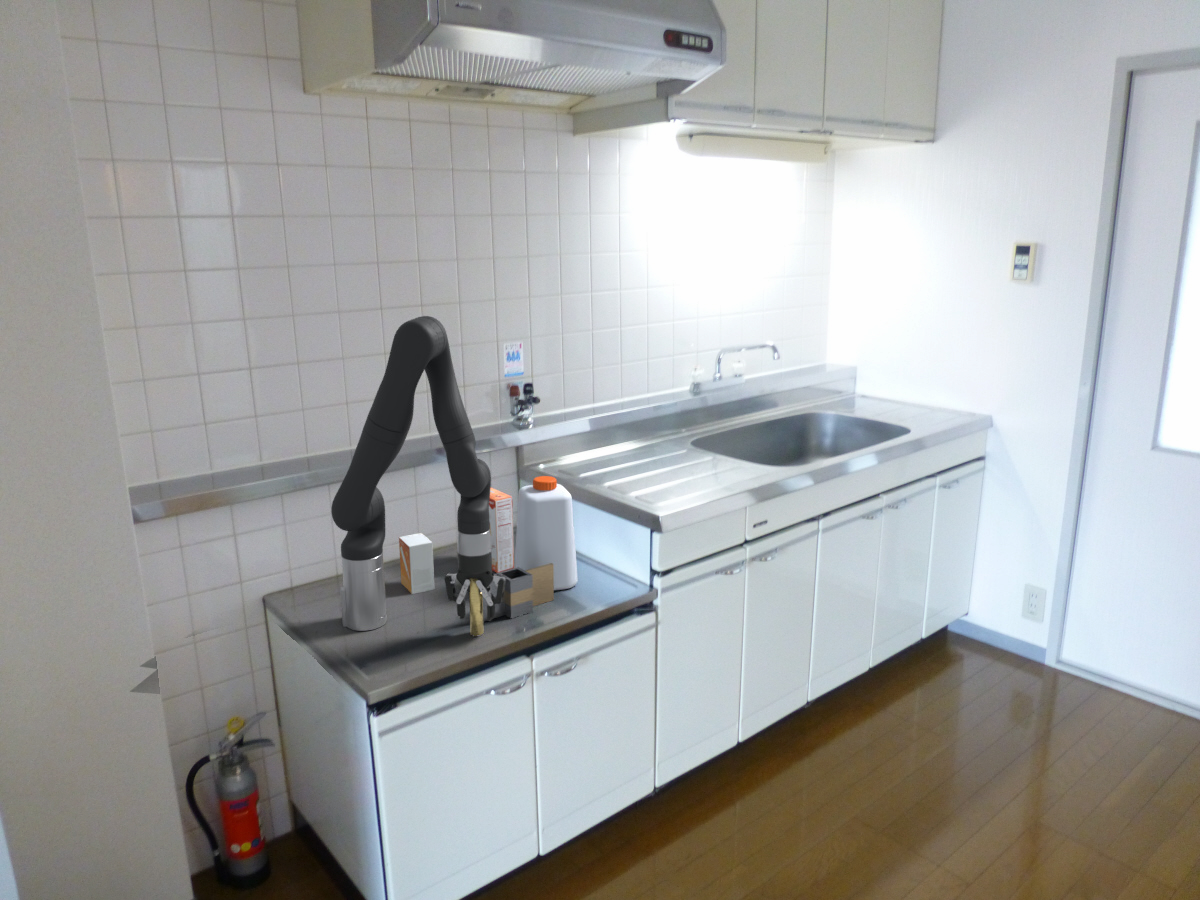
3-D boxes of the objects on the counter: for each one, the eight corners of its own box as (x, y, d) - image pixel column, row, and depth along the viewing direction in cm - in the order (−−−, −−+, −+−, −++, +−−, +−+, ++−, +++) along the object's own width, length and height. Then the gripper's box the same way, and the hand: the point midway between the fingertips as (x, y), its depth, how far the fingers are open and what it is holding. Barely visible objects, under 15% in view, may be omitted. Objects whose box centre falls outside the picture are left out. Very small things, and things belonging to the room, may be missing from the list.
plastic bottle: (581, 589, 223) (581, 484, 216) (524, 596, 219) (522, 489, 212) (565, 567, 237) (565, 468, 230) (511, 573, 233) (509, 473, 226)
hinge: (481, 627, 201) (480, 589, 199) (468, 618, 206) (467, 580, 203) (560, 603, 214) (559, 567, 212) (545, 595, 219) (545, 559, 217)
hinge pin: (468, 636, 197) (467, 578, 194) (472, 630, 200) (470, 573, 196) (481, 637, 197) (480, 579, 193) (485, 631, 200) (483, 574, 196)
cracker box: (468, 559, 243) (466, 487, 238) (487, 554, 247) (485, 483, 241) (496, 574, 232) (494, 499, 227) (514, 568, 236) (513, 495, 231)
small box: (400, 583, 226) (398, 536, 222) (424, 579, 229) (421, 532, 226) (411, 594, 219) (408, 546, 216) (435, 589, 222) (433, 541, 219)
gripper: (437, 553, 190) (440, 623, 195) (502, 556, 189) (503, 627, 193) (447, 541, 198) (450, 609, 202) (509, 544, 196) (511, 613, 200)
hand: (476, 618), depth 197 cm, fingers open, 5 cm apart
